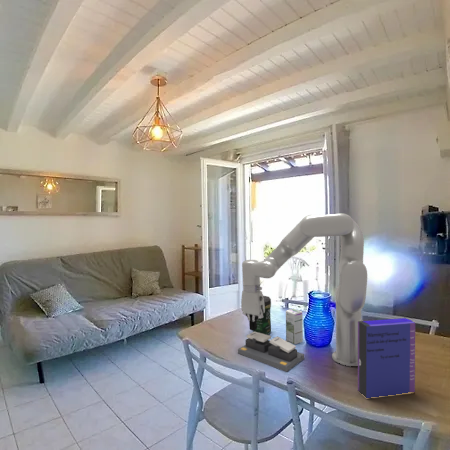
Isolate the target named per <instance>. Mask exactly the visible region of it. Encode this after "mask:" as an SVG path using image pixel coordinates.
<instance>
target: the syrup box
mask: <svg viewBox="0 0 450 450" xmlns="http://www.w3.org/2000/svg"><path fill="white" fill-rule="evenodd" d="M303 321H304V320H303V311H302V310H299V309H296V308H290V309H288V310H285V341H289V343H291V344H293V345H297V344H299V343H303V342H304V338H303V336H304V335H303V333H304V330H303V325H304V324H303Z"/></svg>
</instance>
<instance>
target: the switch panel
mask: <svg viewBox="0 0 450 450" xmlns="http://www.w3.org/2000/svg"><path fill="white" fill-rule="evenodd" d="M286 341H287V340H286ZM287 342H289V341H287ZM289 343H290V342H289ZM237 354H238V355H240V356H244V357H246V358H249V359H251V360H254V361H256V362H260V363H262V364H264V365H268V366H270V367H273V368H276V369H278V370H281V371H283V372H286V373H287V372H289V371H290V370H292V369H293V368H294V367H296V366H297V365H298V364H300V363H301V362H303V360H305V354H304V353H303V352H299V351H298V349H297V348H295V349H294V350H292V351H291V352H289V353H287V352H285V351H284V350H282V349H280V347H279V346H275V345H273V344H271V343H270V339H269V340H267V341H265V342H260V341H257V340H256V339H254V338H253V339H250V338H246V339H245V345H242V346H241V347H239V348H237Z"/></svg>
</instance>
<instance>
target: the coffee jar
mask: <svg viewBox="0 0 450 450" xmlns="http://www.w3.org/2000/svg"><path fill="white" fill-rule="evenodd" d="M263 298H264V305H265V313H263V318H259V319H258V320H257V329H255V330H252V332H258V333H262V334H265V335H269V334H271V332H272V323H271V321H272V319H271V318H272V317H271V307H272V299H271V298H270V296H267V295H263Z"/></svg>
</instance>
